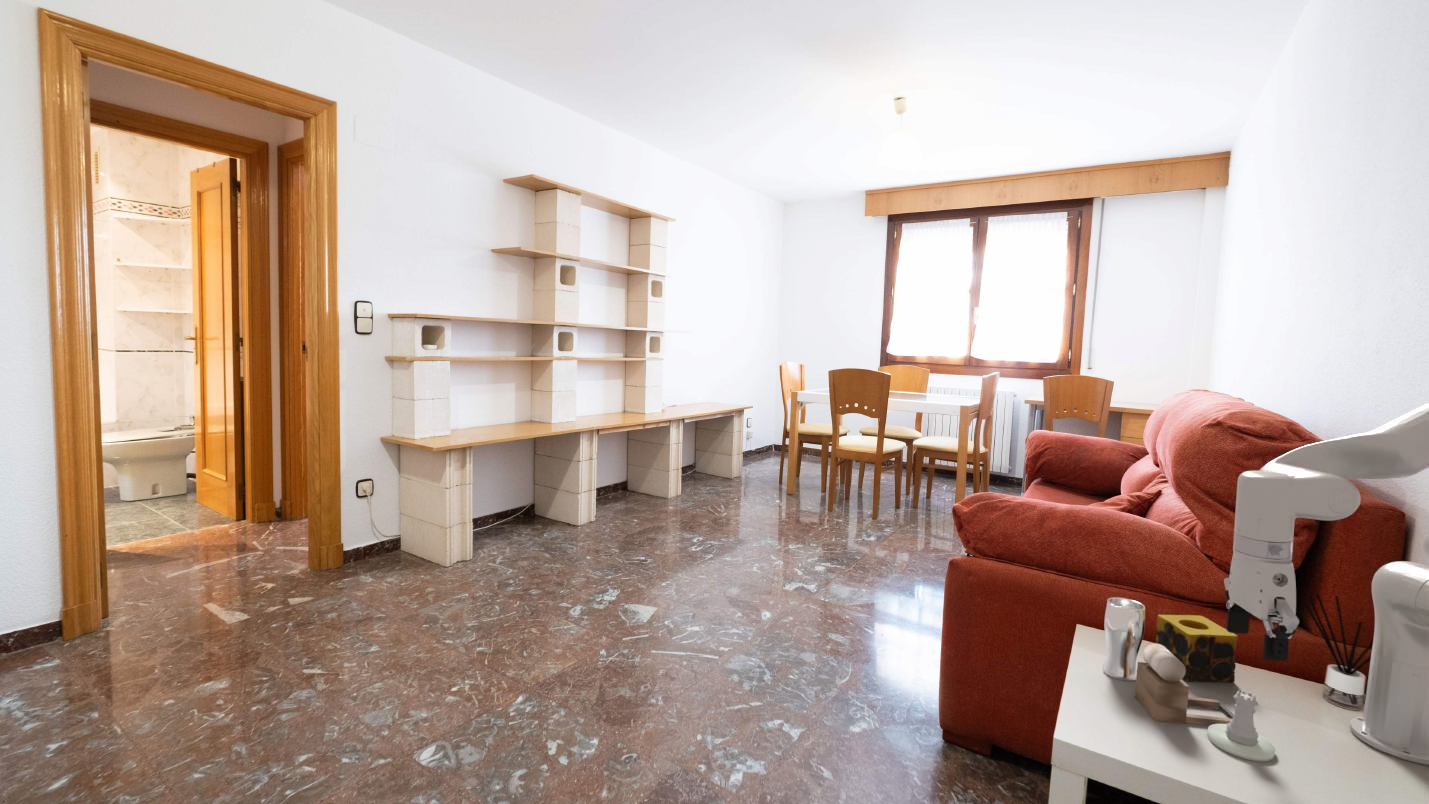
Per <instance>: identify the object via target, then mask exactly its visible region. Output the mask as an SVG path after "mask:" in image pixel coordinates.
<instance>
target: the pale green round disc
mask: <svg viewBox="0 0 1429 804" xmlns="http://www.w3.org/2000/svg"><path fill="white" fill-rule="evenodd" d="M1226 726H1227V724H1213V725H1208V728H1207V733H1206V735H1207V739H1208V740H1209V741H1210V742H1211V743H1212V744H1213V745H1214V746H1215V747H1217V748H1218V749H1220V750H1221V751H1223V752H1226V753H1227V754H1230V755H1233V756H1235V757H1238V758H1240V759H1244V760H1247V761H1253V762H1258V763H1259V762H1260V763H1262V762H1264V763H1265V762H1271V761H1273V760H1275V759H1274V758H1275V756H1276V747H1275V746H1274V745H1273V743H1271V742H1270V740H1268V739H1266V737H1264V736H1262V735H1260V734H1258V738H1257V740H1258V743H1257V744H1256V745H1254V746H1246V745H1242V744H1239V743H1236V742H1235V741H1233V740H1231V739H1230V738H1229V737H1228V736H1227V734H1226V733H1225V731H1226V730H1227V728H1226Z"/></svg>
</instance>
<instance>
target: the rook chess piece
mask: <svg viewBox="0 0 1429 804" xmlns="http://www.w3.org/2000/svg"><path fill="white" fill-rule="evenodd" d="M1256 698H1257V696H1256V695H1255V694H1253V693H1251V692H1247V693H1246V691H1245V690H1241V691H1240V690H1237V691H1236V694H1234V695H1233V699H1234V700H1235V703H1234V705H1233V706H1234V708H1235V709H1234V713H1233V714H1234V717H1233V719H1232V720H1230V723H1228V724H1227V726H1226V728H1227V730H1226V731H1225V733H1226V734H1227V736H1228V737H1229V738H1230V739H1231V740H1233V741H1235V742H1236V743H1239V744H1242V745H1246V746H1254V745H1256V744H1257V743H1258V740H1257V738H1258V735H1259V733H1258V732H1257V730H1256V729H1257V728H1256V727H1255V724H1254V722H1255V721H1254V714H1255V713H1256V710H1255V707H1256V706H1258V705H1259V702H1258V701H1257V700H1256Z"/></svg>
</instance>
